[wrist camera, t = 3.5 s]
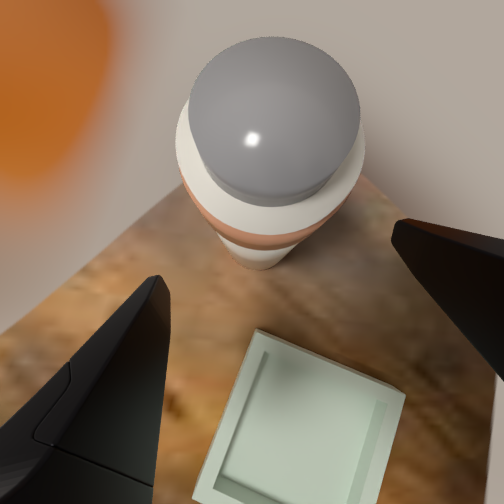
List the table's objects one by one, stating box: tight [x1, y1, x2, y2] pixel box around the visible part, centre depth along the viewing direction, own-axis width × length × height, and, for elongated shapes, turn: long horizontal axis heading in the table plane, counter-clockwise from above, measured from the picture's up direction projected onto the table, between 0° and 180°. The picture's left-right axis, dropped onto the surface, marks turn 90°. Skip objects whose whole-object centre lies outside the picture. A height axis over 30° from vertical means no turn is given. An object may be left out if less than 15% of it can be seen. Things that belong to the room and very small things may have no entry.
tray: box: [192, 328, 406, 504], centre depth 16 cm, size 11×11×2 cm
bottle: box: [176, 37, 365, 271], centre depth 12 cm, size 5×5×14 cm
